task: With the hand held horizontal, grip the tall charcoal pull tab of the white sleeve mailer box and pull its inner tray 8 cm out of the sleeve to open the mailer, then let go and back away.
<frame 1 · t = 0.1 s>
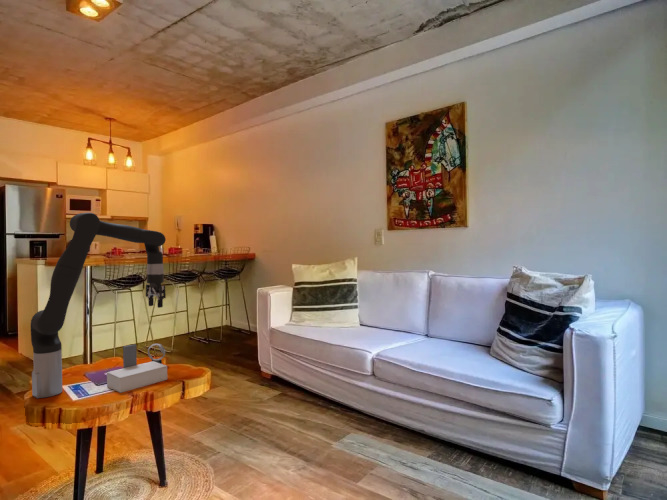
hand: (155, 306, 197), 29 cm above the table, tool pointing down, fingers open, 8 cm apart
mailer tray: (136, 364, 175), point 8 cm above the table, slide at 0.0 cm
mailer sleeve: (137, 382, 174), on the table
watch: (156, 366, 197), on the table
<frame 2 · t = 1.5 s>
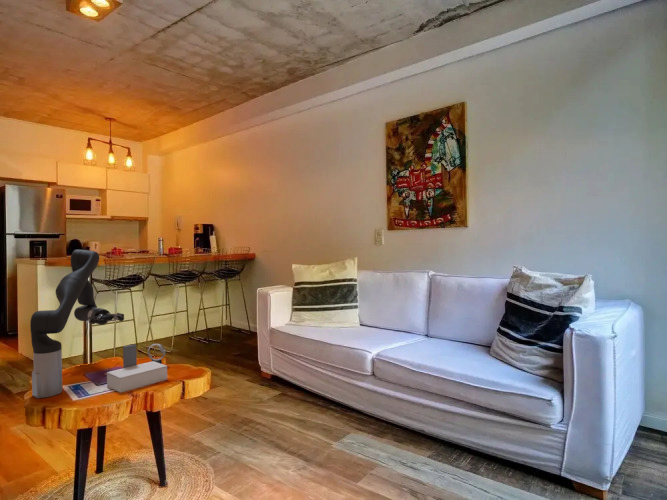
hand: (112, 320, 188), 24 cm above the table, tool horizontal, fingers open, 8 cm apart
nothing on the table moved.
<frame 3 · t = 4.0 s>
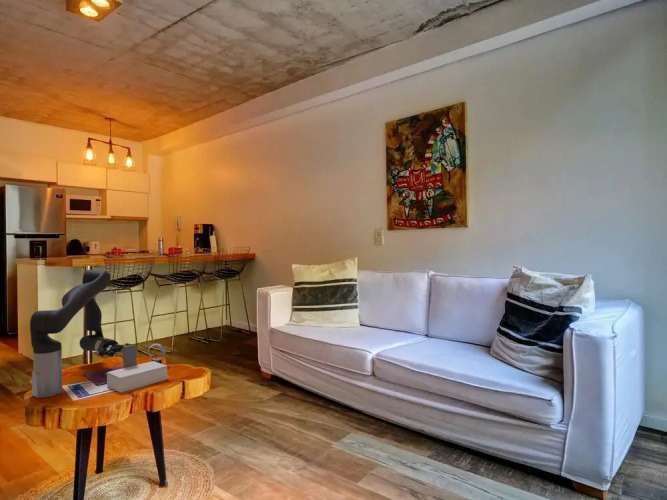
hand: (122, 352, 182), 11 cm above the table, tool horizontal, fingers open, 8 cm apart
nothing on the table moved.
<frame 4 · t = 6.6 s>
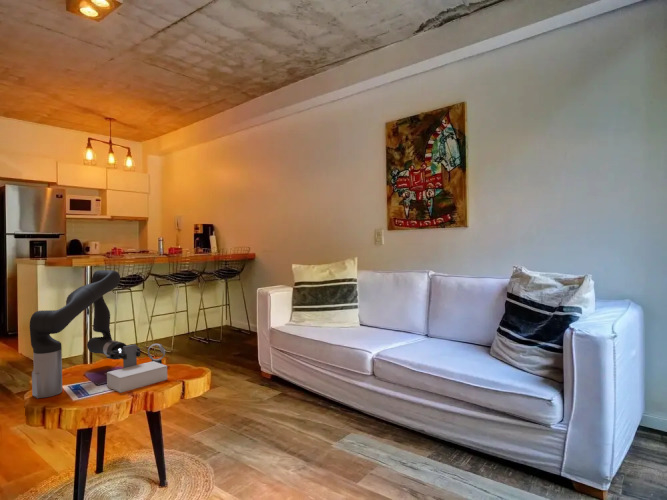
hand: (132, 355, 177), 11 cm above the table, tool horizontal, fingers closed on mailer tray, 5 cm apart
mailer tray: (136, 364, 175), point 8 cm above the table, slide at 0.0 cm, touching gripper
everything else where it was.
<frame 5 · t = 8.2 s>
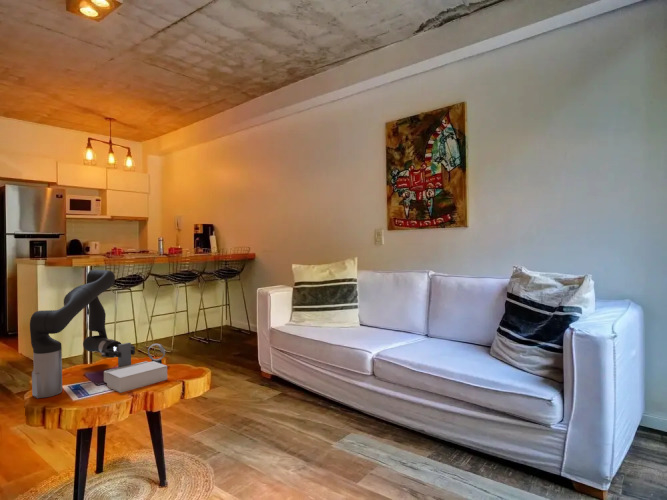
hand: (127, 353, 180), 11 cm above the table, tool horizontal, fingers closed on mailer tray, 5 cm apart
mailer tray: (130, 361, 178), point 8 cm above the table, slide at 5.1 cm, touching gripper
everything else where it was.
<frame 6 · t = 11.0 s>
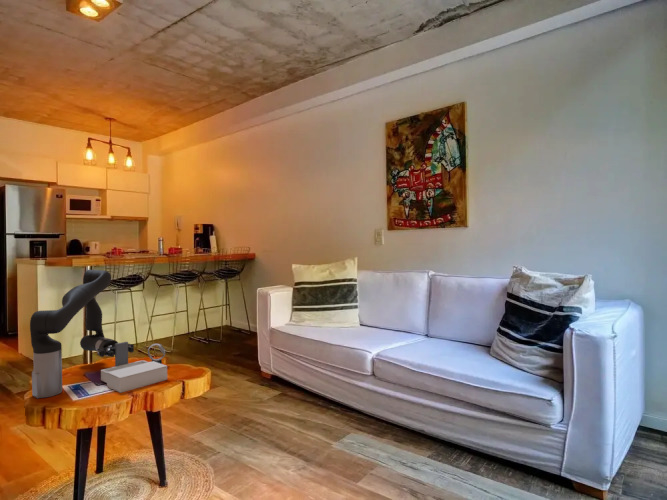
hand: (122, 352, 182), 11 cm above the table, tool horizontal, fingers open, 8 cm apart
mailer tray: (127, 360, 180), point 8 cm above the table, slide at 8.0 cm
everything else where it was.
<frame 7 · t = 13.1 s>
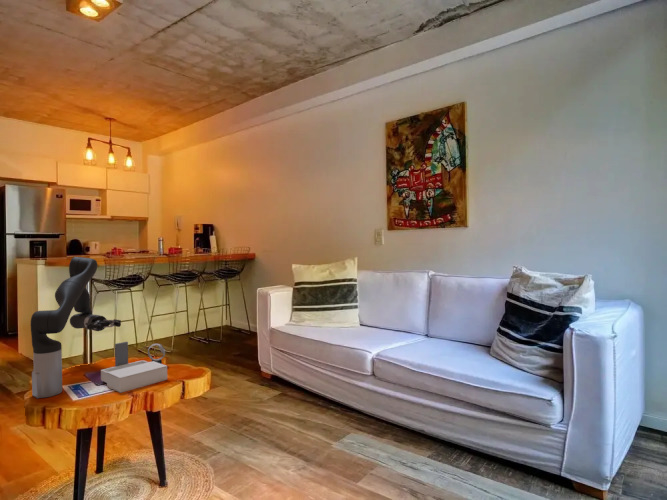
hand: (110, 325, 190), 21 cm above the table, tool horizontal, fingers open, 8 cm apart
nothing on the table moved.
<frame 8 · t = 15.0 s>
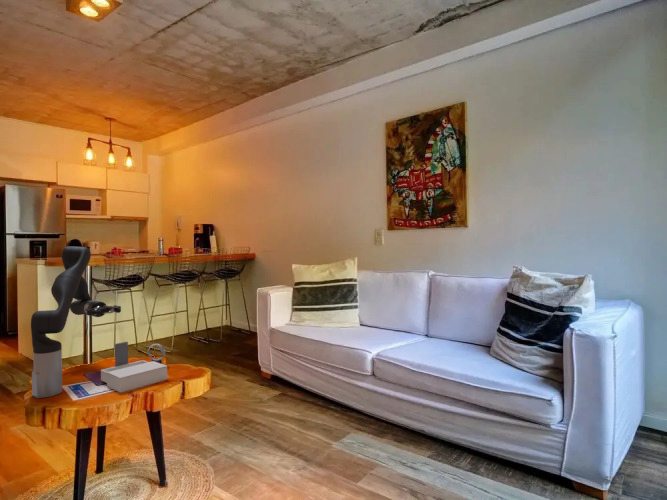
hand: (110, 311, 190), 28 cm above the table, tool horizontal, fingers open, 8 cm apart
nothing on the table moved.
at the end: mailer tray slide at 8.0 cm; the gripper is holding nothing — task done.
